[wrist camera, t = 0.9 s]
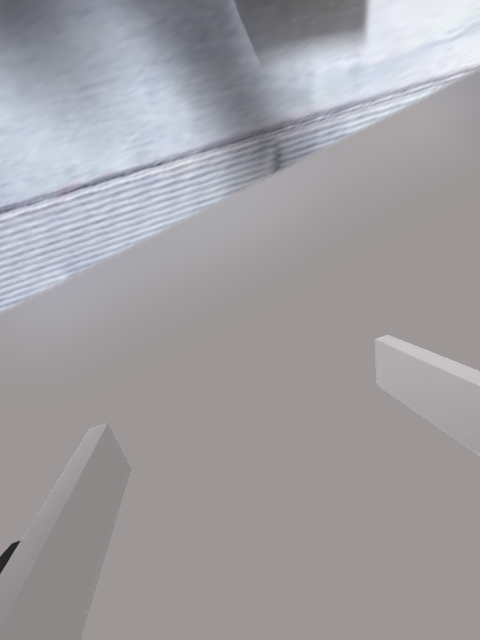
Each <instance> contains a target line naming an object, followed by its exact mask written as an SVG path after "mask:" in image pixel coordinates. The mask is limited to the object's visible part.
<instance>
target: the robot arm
mask: <svg viewBox="0 0 480 640" xmlns="http://www.w3.org/2000/svg"><path fill="white" fill-rule="evenodd" d="M375 354H376V355H375V356H376V376H377V377H376V379H377V385H378V386H379V387H380V388H382V389H383V390H385V391H386V392H388V393H389V394H391V395H392V396H393V397H395V398H396V399H398V400H399V401H401V402H402V403H403V404H405V405H406V406H408V407H409V408H411V409H412V410H414V411H415V412H416V413H418V414H419V415H421V416H422V417H424V418H425V419H427V420H428V421H430V422H431V423H432V424H434V425H435V426H437V427H438V428H440V429H441V430H442V431H444V432H446V433H447V434H448V435H450V436H451V437H453V438H454V439H456V440H457V441H458V442H460V443H461V444H463V445H464V446H466V447H467V448H468V449H470V450H471V451H473V452H474V453H476V454H477V455H478V456H480V371H478V370H475V369H473V368H470V367H468V366H465V365H462V364H460V363H457V362H455V361H452V360H450V359H447V358H445V357H442V356H440V355H437V354H435V353H432V352H429V351H427V350H425V349H422V348H420V347H417V346H415V345H412V344H410V343H407V342H404V341H402V340H399V339H397V338H394V337H392V336H389V335H386V336H383V337H380V338H377V339H375ZM130 471H131V468H130V466H129V464H128V462H127V460H126V458H125V456H124V454H123V452H122V450H121V448H120V446H119V444H118V442H117V440H116V438H115V436H114V434H113V432H112V430H111V428H110V426H109V424H108V423H105V424H102V425H99V426H95V427H92V428H90V429H89V430H88V432H87V433H86V435H85V437H84V438H83V440H82V441H81V443H80V445H79V446H78V448H77V450H76V451H75V453H74V455H73V456H72V458H71V459H70V461H69V463H68V464H67V466H66V468H65V469H64V471H63V473H62V474H61V476H60V477H59V479H58V481H57V482H56V484H55V486H54V487H53V489H52V490H51V492H50V494H49V496H48V497H47V499H46V500H45V502H44V504H43V505H42V507H41V509H40V510H39V512H38V513H37V515H36V517H35V518H34V520H33V522H32V523H31V525H30V526H29V528H28V530H27V531H26V533H25V535H24V536H23V538H22V540H21V541H18V542H15V543H13V544H11V545H10V546H9V548H8V549H7V550H6V551H5V552H4V553H3V554H2V555H1V557H0V640H80V639H81V636H82V632H83V629H84V625H85V622H86V619H87V616H88V612H89V609H90V605H91V602H92V599H93V595H94V592H95V588H96V585H97V581H98V578H99V575H100V572H101V568H102V565H103V562H104V558H105V555H106V551H107V548H108V545H109V541H110V538H111V534H112V531H113V528H114V525H115V521H116V518H117V514H118V511H119V508H120V504H121V501H122V498H123V494H124V491H125V487H126V484H127V481H128V477H129V474H130Z"/></svg>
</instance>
